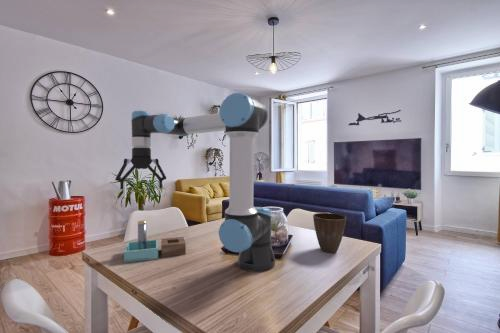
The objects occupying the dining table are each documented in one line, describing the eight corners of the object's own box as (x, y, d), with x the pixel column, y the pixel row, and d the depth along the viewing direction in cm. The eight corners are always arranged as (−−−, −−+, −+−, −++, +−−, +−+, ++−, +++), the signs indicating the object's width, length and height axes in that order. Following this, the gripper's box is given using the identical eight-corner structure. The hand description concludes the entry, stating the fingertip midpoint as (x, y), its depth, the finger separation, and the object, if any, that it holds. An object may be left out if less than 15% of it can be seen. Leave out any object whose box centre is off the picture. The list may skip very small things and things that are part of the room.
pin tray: (158, 258, 110) (158, 248, 110) (124, 262, 105) (124, 252, 105) (158, 248, 122) (157, 239, 122) (127, 252, 118) (127, 242, 118)
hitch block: (185, 254, 115) (185, 243, 115) (161, 257, 112) (161, 245, 112) (183, 247, 124) (183, 236, 124) (161, 249, 121) (161, 238, 121)
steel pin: (146, 254, 113) (146, 222, 112) (137, 255, 111) (137, 222, 111) (146, 251, 116) (146, 220, 116) (138, 252, 115) (138, 220, 114)
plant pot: (315, 242, 132) (316, 211, 131) (347, 247, 125) (347, 214, 125) (309, 252, 118) (310, 217, 117) (344, 258, 112) (344, 221, 111)
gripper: (171, 148, 120) (171, 193, 121) (110, 147, 112) (111, 196, 112) (171, 147, 113) (172, 196, 114) (107, 146, 105) (108, 199, 105)
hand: (142, 196), depth 113 cm, fingers open, 13 cm apart
